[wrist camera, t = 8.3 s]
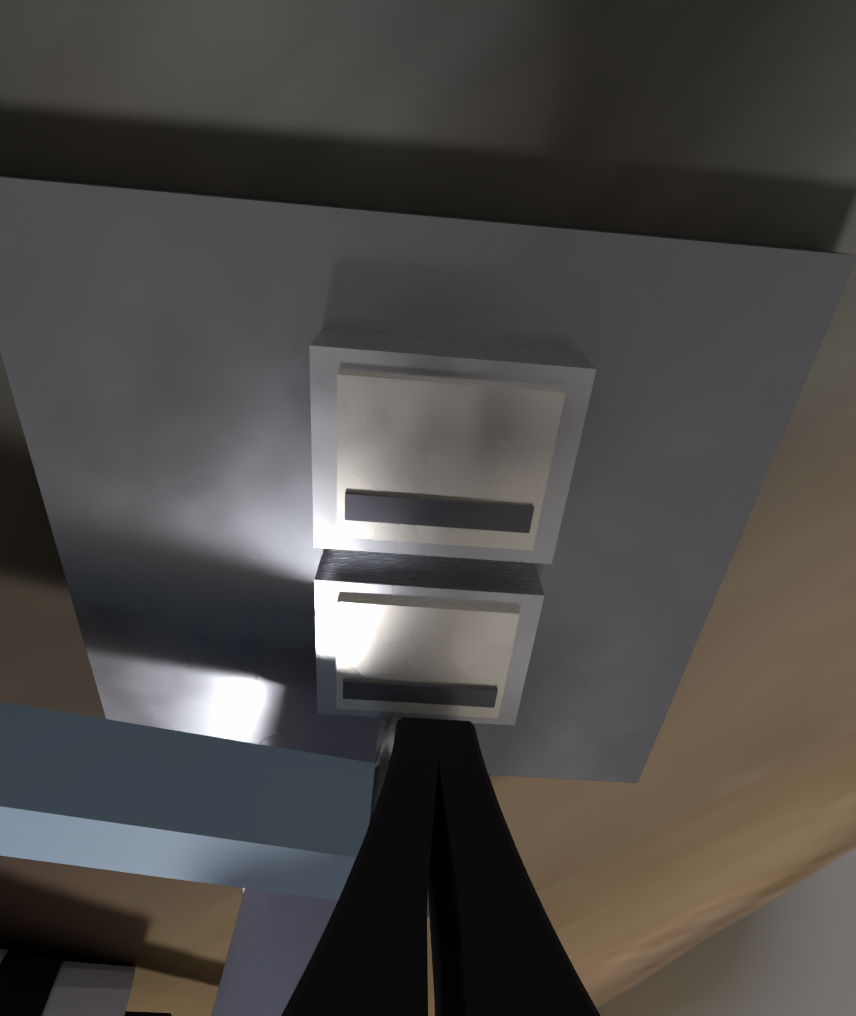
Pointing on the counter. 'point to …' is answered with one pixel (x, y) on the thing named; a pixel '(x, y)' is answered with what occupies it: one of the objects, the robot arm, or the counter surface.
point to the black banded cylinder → (64, 987)
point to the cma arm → (180, 803)
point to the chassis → (395, 460)
